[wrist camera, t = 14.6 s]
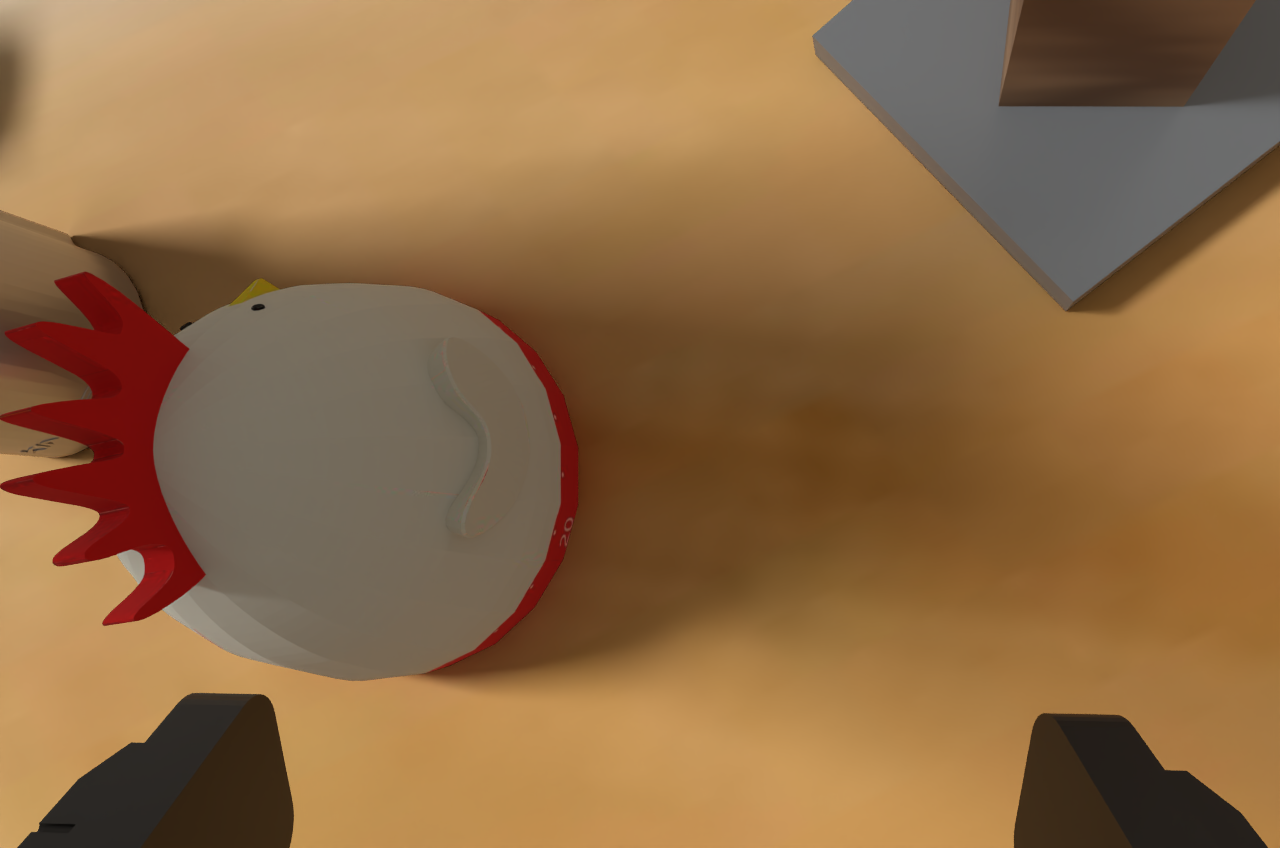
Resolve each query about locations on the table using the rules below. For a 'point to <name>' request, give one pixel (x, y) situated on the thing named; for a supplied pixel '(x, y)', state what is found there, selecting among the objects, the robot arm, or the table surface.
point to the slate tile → (1055, 133)
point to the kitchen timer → (314, 470)
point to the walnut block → (1113, 50)
